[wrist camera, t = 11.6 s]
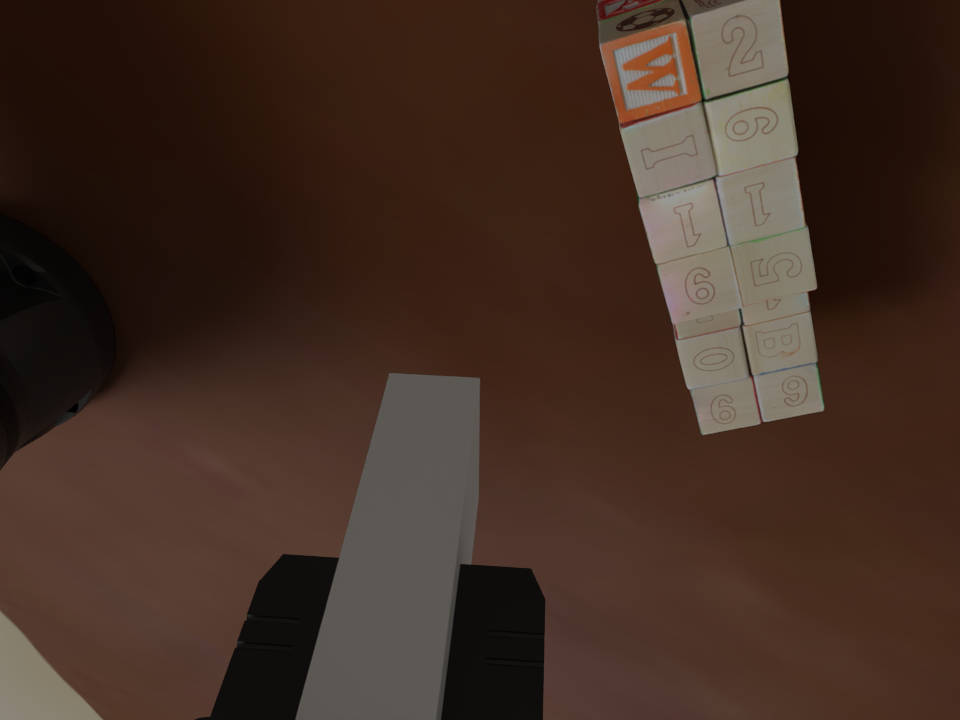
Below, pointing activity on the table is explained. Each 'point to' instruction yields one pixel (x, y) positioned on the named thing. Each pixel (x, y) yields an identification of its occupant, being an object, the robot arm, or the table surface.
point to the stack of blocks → (719, 197)
